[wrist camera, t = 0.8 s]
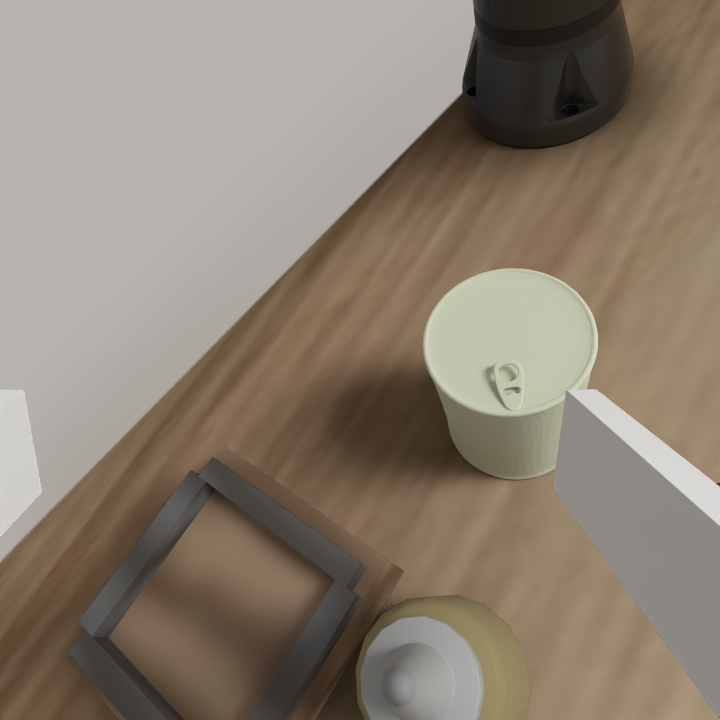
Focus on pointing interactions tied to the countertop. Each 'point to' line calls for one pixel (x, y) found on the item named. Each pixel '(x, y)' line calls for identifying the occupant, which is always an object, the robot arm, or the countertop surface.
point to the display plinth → (232, 605)
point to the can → (509, 366)
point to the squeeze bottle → (442, 664)
